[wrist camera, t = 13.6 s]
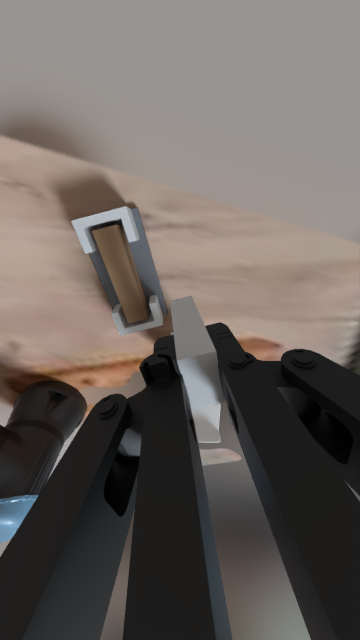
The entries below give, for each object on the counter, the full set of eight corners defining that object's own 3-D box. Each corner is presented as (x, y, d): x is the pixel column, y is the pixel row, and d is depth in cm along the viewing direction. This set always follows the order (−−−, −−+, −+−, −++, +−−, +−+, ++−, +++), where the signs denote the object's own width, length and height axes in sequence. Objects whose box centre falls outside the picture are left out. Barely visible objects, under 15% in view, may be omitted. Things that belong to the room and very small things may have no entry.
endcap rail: (120, 323, 40) (115, 337, 35) (79, 223, 32) (63, 222, 27) (167, 311, 40) (168, 323, 35) (137, 208, 31) (133, 204, 26)
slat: (132, 312, 38) (128, 323, 33) (101, 230, 31) (91, 230, 27) (149, 308, 38) (147, 318, 33) (122, 225, 31) (115, 224, 27)
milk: (170, 331, 42) (178, 423, 22) (197, 334, 43) (228, 425, 23) (166, 354, 44) (169, 456, 24) (192, 357, 45) (216, 457, 25)
